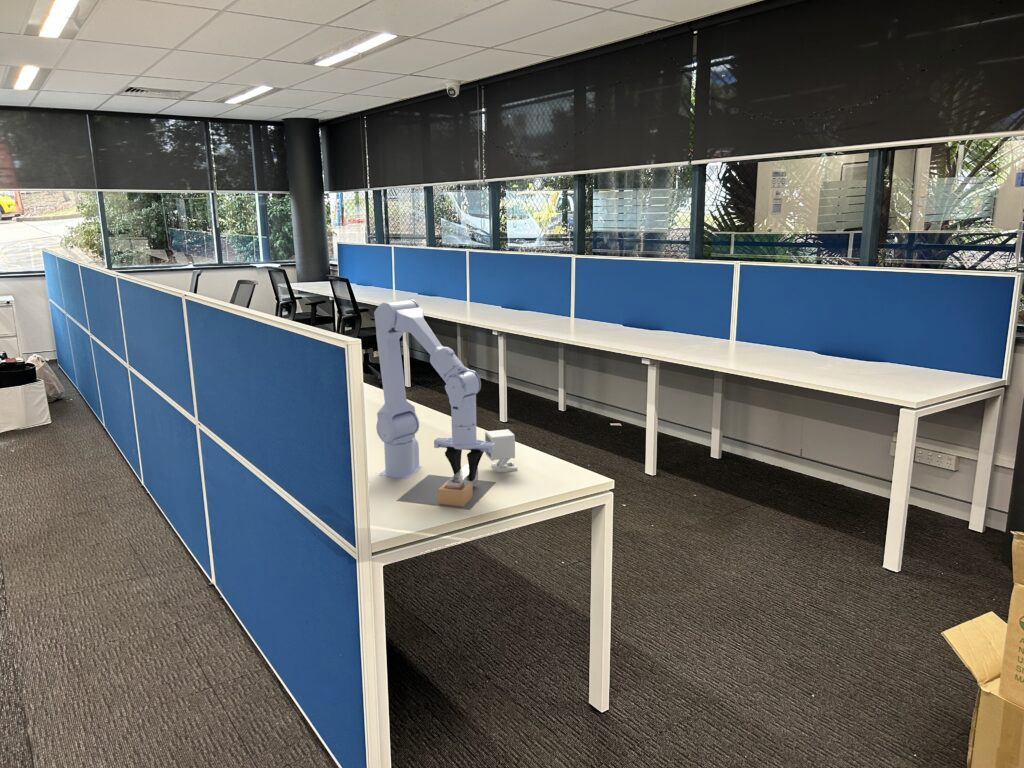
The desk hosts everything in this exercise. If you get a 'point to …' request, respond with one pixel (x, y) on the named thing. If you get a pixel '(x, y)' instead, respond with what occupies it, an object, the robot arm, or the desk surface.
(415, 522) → the desk surface
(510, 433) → the security camera
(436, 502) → the mat
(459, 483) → the aluminium rail
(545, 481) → the desk surface
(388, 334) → the robot arm
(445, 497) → the tan notched holder
